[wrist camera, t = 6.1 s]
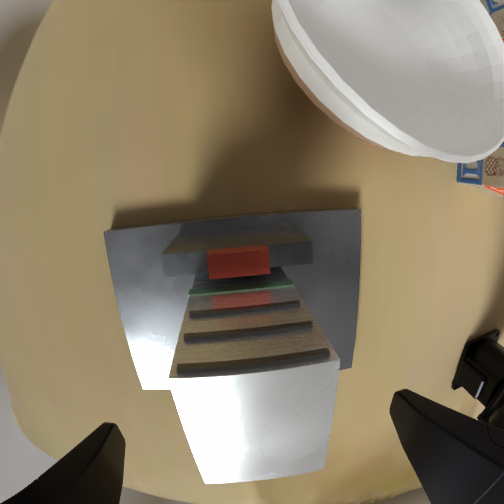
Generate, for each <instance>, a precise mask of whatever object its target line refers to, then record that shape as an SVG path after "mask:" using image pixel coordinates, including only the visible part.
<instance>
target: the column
mask: <svg viewBox="0 0 504 504" xmlns="http://www.w3.org/2000/svg"><path fill="white" fill-rule="evenodd" d="M188 297H189V300H188V303H187V307H186V311H185V314H184V318H183V322H182V325H181V329H180V333H179V337H178V341H177V345H176V349H175V353H174V357H173V361H172V365H171V369H170V373H169V377H168V380H169V384H170V387H171V390H172V394H173V397H174V400H175V403H176V406H177V409H178V412H179V416H180V418H181V421H182V424H183V427H184V430H185V433H186V436H187V438H188V441H189V444H190V447H191V449H192V452H193V455H194V457H195V460H196V462H197V465H198V467H199V470H200V472H201V474H202V477H203V479H204V482H205V484H212V483H234V482H246V481H257V480H265V479H273V478H280V477H286V476H292V475H298V474H303V473H308V472H313V471H318V470H322V469H324V464H325V459H326V454H327V449H328V444H329V438H330V432H331V426H332V420H333V414H334V407H335V400H336V392H337V384H338V376H339V367H340V358H339V357H338V355H337V354H336V352H335V350H334V349H333V347H332V346H331V344H330V343H329V341H328V339H327V338H326V336H325V335H324V333H323V332H322V330H321V328H320V327H319V325H318V324H317V322H316V321H315V319H314V317H313V316H312V314H311V313H310V311H309V310H308V308H307V306H306V305H305V303H304V302H303V300H302V299H301V297H300V296H299V294H298V293H297V291H296V289H295V288H294V283H293V282H292V280H291V279H288V277H287V276H286V274H285V272H284V271H283V269H282V268H281V267H271V268H270V274H262V275H252V276H242V277H231V278H220V279H209V273H207V274H196V275H195V278H194V282H193V285H192V289H190V290H189V293H188Z"/></svg>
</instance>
